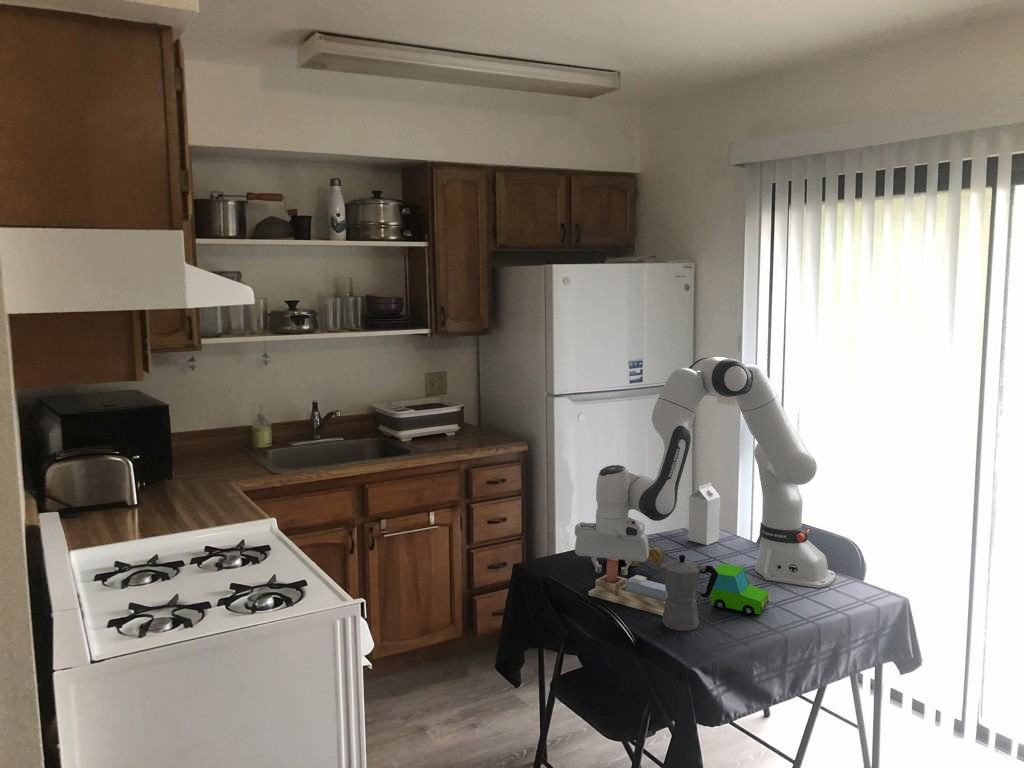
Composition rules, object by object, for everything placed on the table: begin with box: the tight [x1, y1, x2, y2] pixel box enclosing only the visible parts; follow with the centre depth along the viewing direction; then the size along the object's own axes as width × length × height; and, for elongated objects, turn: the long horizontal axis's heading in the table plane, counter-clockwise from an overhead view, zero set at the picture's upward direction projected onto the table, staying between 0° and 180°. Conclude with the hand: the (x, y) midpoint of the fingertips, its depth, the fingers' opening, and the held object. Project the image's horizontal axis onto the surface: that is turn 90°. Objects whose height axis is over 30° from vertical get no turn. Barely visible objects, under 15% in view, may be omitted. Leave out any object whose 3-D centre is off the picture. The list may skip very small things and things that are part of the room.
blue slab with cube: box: [625, 574, 668, 602], centre depth 226 cm, size 12×4×5 cm, turn 52°
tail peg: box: [605, 558, 619, 584], centre depth 233 cm, size 3×3×8 cm
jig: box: [588, 574, 666, 617], centre depth 229 cm, size 23×12×4 cm, turn 52°
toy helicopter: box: [607, 546, 665, 567], centre depth 252 cm, size 8×21×14 cm, turn 36°
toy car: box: [710, 562, 770, 617], centre depth 222 cm, size 10×13×10 cm
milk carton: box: [687, 482, 721, 546], centre depth 275 cm, size 7×7×19 cm
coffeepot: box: [654, 554, 718, 632], centre depth 211 cm, size 15×9×18 cm, turn 80°
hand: (611, 573), depth 233 cm, fingers open, 6 cm apart
